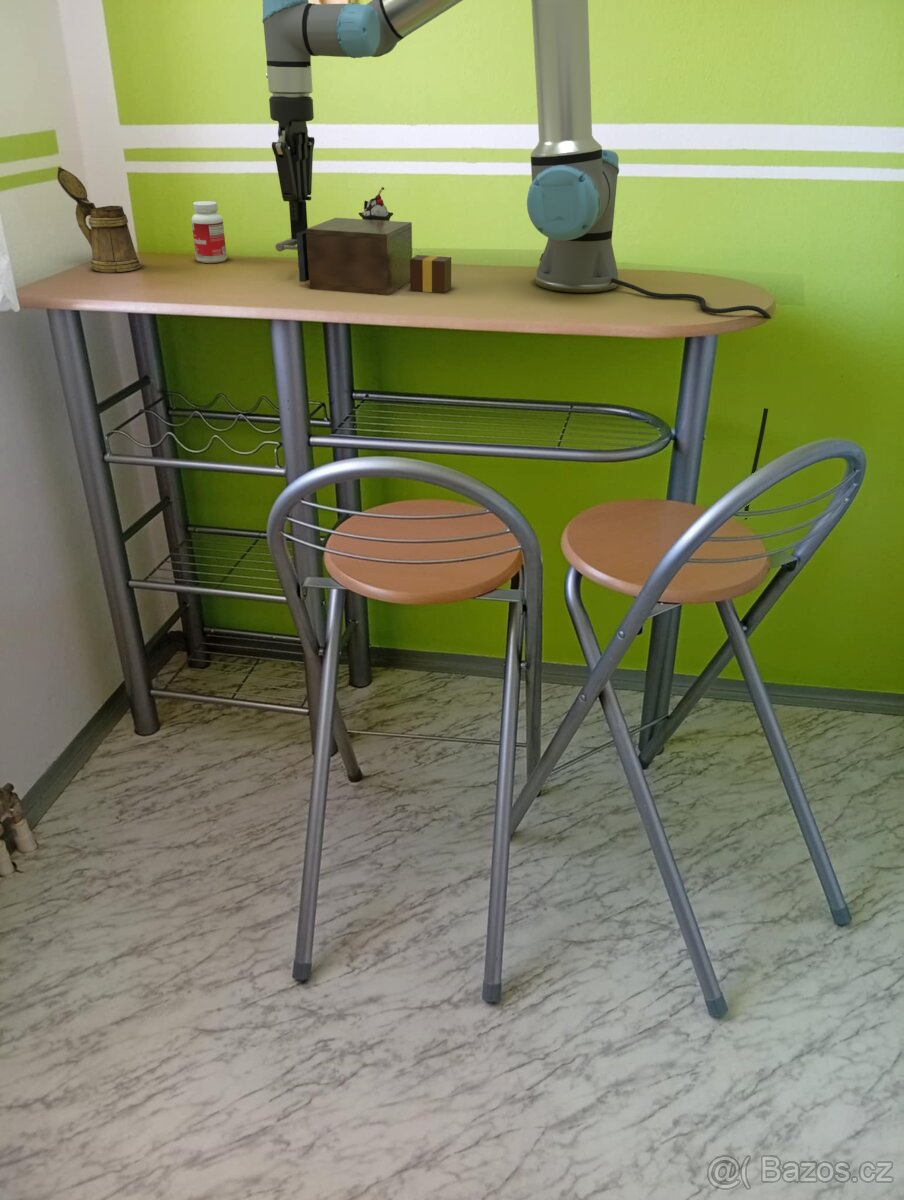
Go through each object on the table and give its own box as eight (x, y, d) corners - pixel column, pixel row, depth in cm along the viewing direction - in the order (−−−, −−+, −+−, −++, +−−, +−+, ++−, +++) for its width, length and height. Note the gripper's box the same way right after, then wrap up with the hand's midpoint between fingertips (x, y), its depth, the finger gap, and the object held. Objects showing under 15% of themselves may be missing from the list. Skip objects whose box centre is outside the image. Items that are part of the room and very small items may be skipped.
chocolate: (451, 288, 174) (451, 256, 171) (444, 293, 170) (444, 261, 168) (417, 285, 175) (417, 254, 173) (410, 290, 172) (409, 258, 169)
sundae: (393, 271, 186) (391, 188, 179) (359, 270, 186) (355, 188, 179) (395, 264, 192) (393, 184, 184) (362, 264, 192) (359, 183, 185)
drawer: (270, 279, 175) (266, 231, 170) (298, 266, 185) (295, 220, 180) (371, 287, 170) (369, 238, 165) (394, 274, 180) (393, 227, 175)
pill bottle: (191, 260, 194) (183, 202, 188) (218, 256, 197) (212, 199, 192) (205, 264, 190) (197, 205, 184) (232, 261, 193) (226, 203, 188)
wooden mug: (88, 261, 192) (71, 164, 183) (149, 265, 189) (134, 166, 180) (63, 270, 185) (43, 169, 175) (125, 274, 182) (108, 172, 173)
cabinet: (309, 288, 173) (305, 228, 167) (338, 274, 184) (335, 217, 178) (388, 295, 169) (386, 234, 164) (412, 279, 180) (411, 222, 175)
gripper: (287, 92, 170) (296, 231, 182) (253, 96, 159) (265, 243, 171) (325, 94, 168) (332, 234, 180) (294, 97, 157) (303, 246, 169)
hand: (299, 238), depth 176 cm, fingers closed
